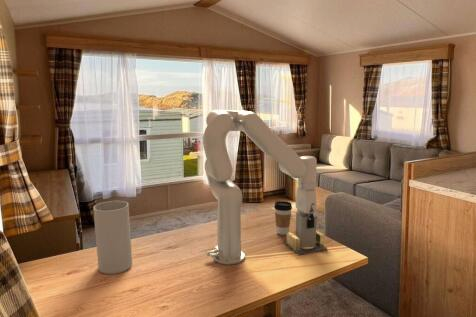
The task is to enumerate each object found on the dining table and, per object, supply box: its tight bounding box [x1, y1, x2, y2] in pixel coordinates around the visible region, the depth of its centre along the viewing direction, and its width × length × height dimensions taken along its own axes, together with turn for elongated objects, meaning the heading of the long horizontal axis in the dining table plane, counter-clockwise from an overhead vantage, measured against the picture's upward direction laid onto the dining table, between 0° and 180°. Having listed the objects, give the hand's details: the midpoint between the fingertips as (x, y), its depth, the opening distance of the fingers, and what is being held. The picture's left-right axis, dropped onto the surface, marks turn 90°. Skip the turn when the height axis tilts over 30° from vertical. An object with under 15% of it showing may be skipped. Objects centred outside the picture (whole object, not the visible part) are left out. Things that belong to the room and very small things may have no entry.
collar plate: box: [283, 229, 328, 256], centre depth 156 cm, size 14×13×6 cm
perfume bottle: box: [295, 210, 318, 247], centre depth 155 cm, size 7×7×18 cm
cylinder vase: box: [92, 200, 133, 275], centre depth 137 cm, size 12×12×25 cm
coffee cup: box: [274, 200, 293, 236], centre depth 171 cm, size 8×8×15 cm
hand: (305, 224), depth 155 cm, fingers closed on perfume bottle, 6 cm apart
